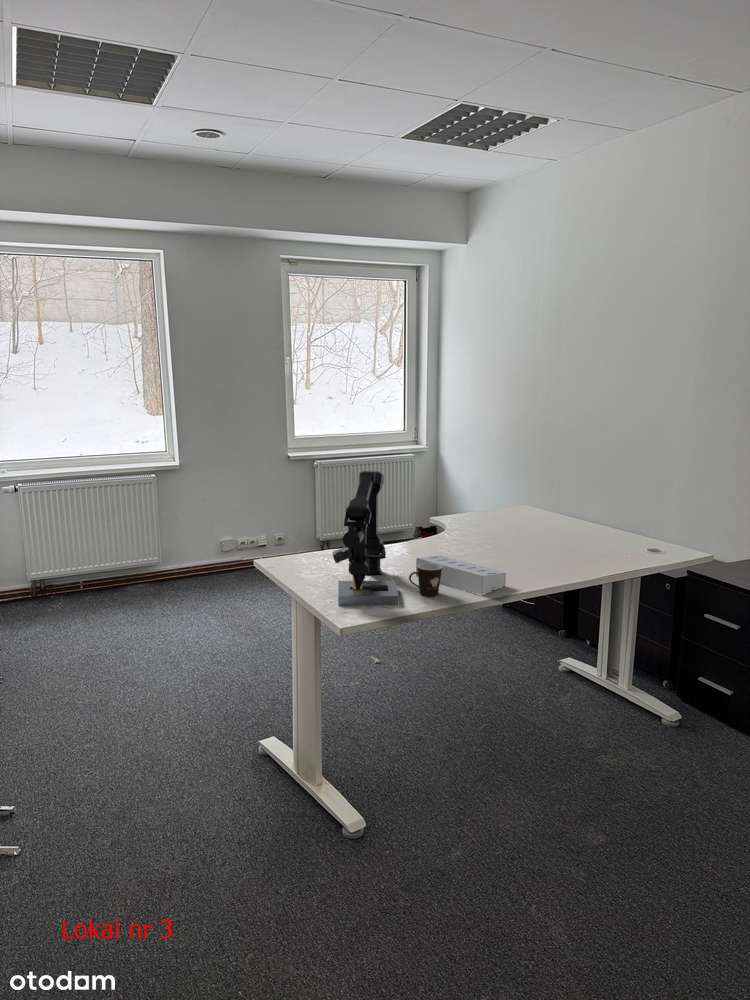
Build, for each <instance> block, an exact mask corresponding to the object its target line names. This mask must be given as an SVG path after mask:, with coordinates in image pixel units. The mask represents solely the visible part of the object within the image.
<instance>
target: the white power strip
mask: <svg viewBox="0 0 750 1000" xmlns="http://www.w3.org/2000/svg"><path fill="white" fill-rule="evenodd" d="M415 561H416V565H415V567H416V569H415V572H418V569H417V565H418V564H421V563H436V564H439V565H441V566H442V572H441V578H440V584H441V585H444V586H448V587H449V588H450V587H451V588H454V589H457V590H460V589H461V590H460V591H463V590H466V591H465V592H467V591H469V592H468V593H470V592H474V593H478V594H481V595H482V594H484V593H487V592H490V591H492V590H494V589H497V588H500V587H502V588H504V587H503V586H505V587H506V575H507V574H506V573H507V572H504V571H500V570H497V569H493V568H489V567H486V566H482V565H477V564H475V563H470V562H467V561H463V560H459V559H455V558H452V557H448V556H443V555H433V556H422V557H416V560H415ZM415 576H416V577H417V578H418V575H417V574H415ZM500 589H501V588H500ZM490 593H491V592H490Z"/></svg>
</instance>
